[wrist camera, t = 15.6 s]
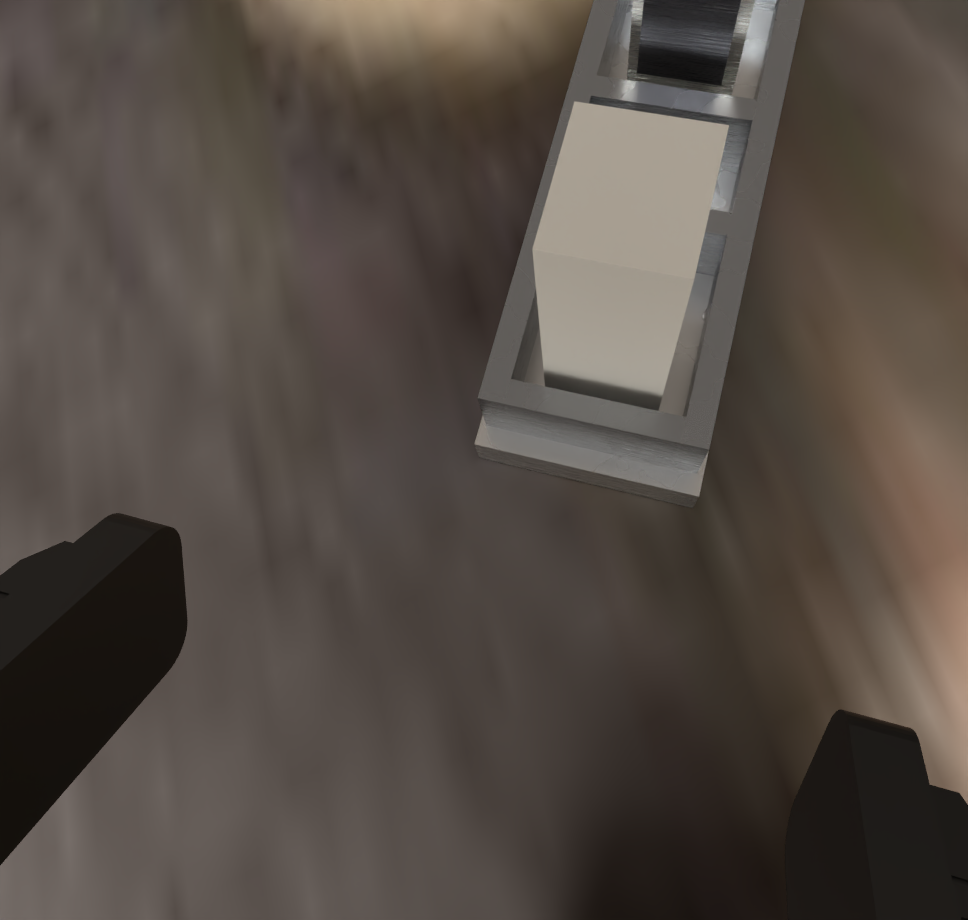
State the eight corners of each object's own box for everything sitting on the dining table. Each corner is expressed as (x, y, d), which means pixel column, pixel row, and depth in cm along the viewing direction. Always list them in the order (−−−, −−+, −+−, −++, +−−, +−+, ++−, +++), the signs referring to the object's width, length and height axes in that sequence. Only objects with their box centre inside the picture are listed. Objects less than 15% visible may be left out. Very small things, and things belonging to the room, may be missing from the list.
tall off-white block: (578, 273, 29) (579, 83, 20) (685, 293, 28) (733, 106, 19) (546, 394, 27) (532, 249, 19) (656, 418, 27) (694, 279, 18)
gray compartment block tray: (613, -10, 34) (629, -316, 24) (798, 14, 32) (897, -298, 22) (479, 457, 29) (428, 319, 19) (692, 507, 27) (760, 388, 17)
